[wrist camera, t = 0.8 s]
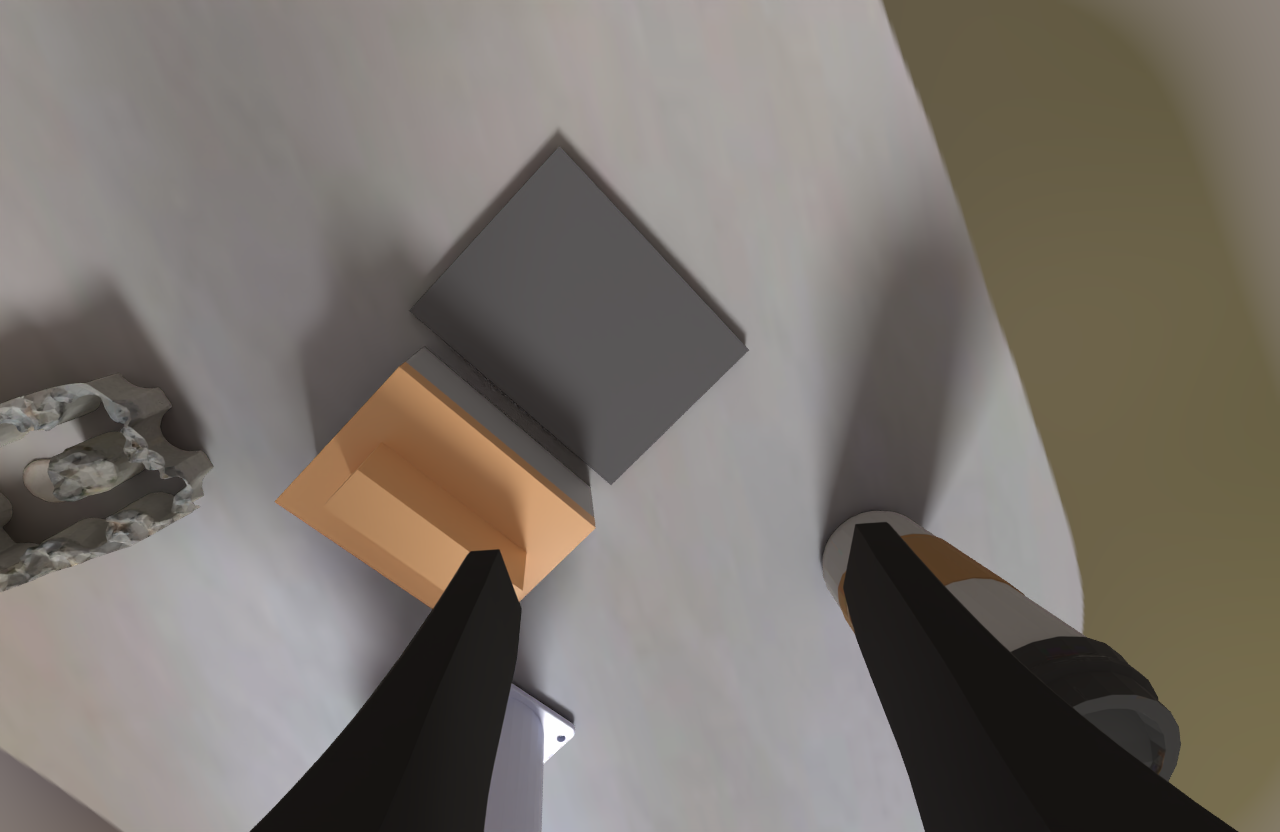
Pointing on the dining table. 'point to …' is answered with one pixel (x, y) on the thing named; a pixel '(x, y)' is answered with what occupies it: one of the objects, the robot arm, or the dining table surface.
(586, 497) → the parts tub
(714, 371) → the mat
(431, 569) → the lid
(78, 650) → the dining table surface
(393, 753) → the robot arm
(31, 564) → the grey rock
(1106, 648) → the coffee cup
